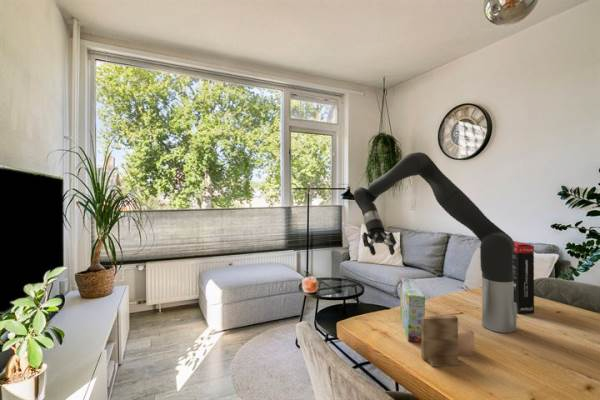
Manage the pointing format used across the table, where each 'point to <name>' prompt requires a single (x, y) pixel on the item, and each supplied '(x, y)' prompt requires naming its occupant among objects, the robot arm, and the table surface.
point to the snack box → (411, 308)
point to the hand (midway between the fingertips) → (383, 254)
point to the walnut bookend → (440, 340)
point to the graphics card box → (523, 277)
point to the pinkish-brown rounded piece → (465, 341)
